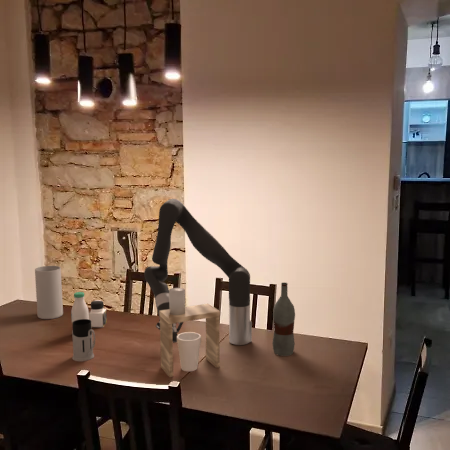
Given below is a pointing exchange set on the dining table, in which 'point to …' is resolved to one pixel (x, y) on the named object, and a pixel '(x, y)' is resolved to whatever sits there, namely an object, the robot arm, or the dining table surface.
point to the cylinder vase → (49, 292)
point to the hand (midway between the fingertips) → (175, 341)
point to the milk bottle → (79, 308)
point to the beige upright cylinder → (177, 301)
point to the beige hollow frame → (190, 315)
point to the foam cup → (189, 350)
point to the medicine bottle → (97, 314)
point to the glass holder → (82, 340)
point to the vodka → (283, 324)
